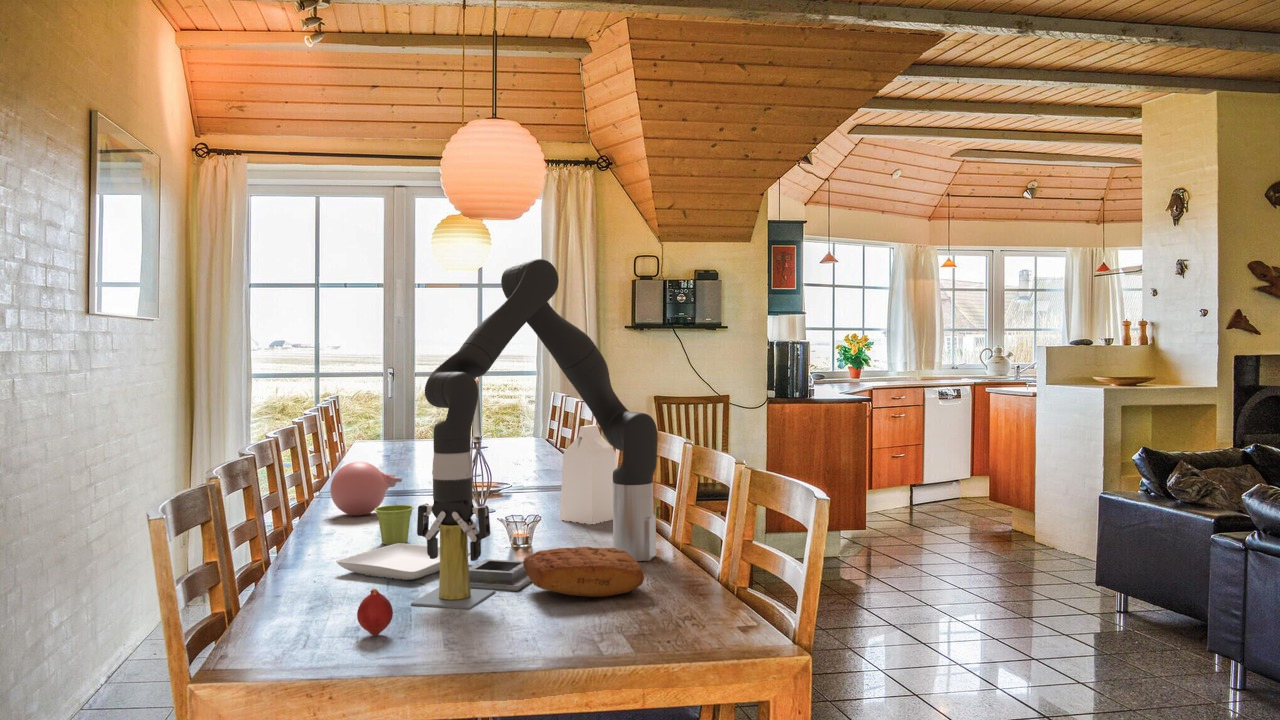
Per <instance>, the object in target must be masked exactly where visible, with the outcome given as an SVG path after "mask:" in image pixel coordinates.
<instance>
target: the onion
mask: <svg viewBox="0 0 1280 720" xmlns="http://www.w3.org/2000/svg"><path fill="white" fill-rule="evenodd" d="M393 615H394V611H393V607H392V604H391V601H390V599H388V598H387V597H386V596H385V595H383V594H382V593H381V592H380V591H379V590H378V589H377V588H373V589H371V590H370V594H368V595H367V596H366V597H364V598H363V600H362V601H361V602H360V604H359V606H358V608H357V613H356V617H357V619H356V620H357V621H358V623H359V626H360V627H361V628H363V629H364V631H366V632H368V633H370V635H371V636H374V637H376V636H378V635H380V634H381V633H382V632H383V631H385V630H386V629H387V628H388V627H389V625H390V623H391V622H392V619H393Z"/></svg>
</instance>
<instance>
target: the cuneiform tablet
mask: <svg viewBox="0 0 1280 720" xmlns="http://www.w3.org/2000/svg"><path fill="white" fill-rule="evenodd" d="M523 565H524V568H525V570H526V572H527V574H528V576H529V578H530V580H531V581H532V582H531V583H532V584H533V585H534V586H535V587H536V588H538V589H541V590H544V591H550V592H554V593H558V594H562V595H563V594H564V595H567V596H568V595H570V596H576V597H577V596H579V597H590V598H591V597H592V598H597V597H598V598H599V597H602V598H603V597H610V596H615V595H622V594H625V593H630V592H632V591H633V590H635V589H637V588H639V587H641V586H642V585H643V583H644V580H645V573H644V570H643V568H642V566H641V565H640V564H639V561H636V560H635V559H634V558H633V557H632V556H631V555H630V554H628V553H627V552H626V551H623V550H618V549H616V548H613V547H592V546H577V547H559V548H551V549H543V550H538V551H536V552H534V553H533V554H530V555H528V556H526V557H524V558H523Z"/></svg>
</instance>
